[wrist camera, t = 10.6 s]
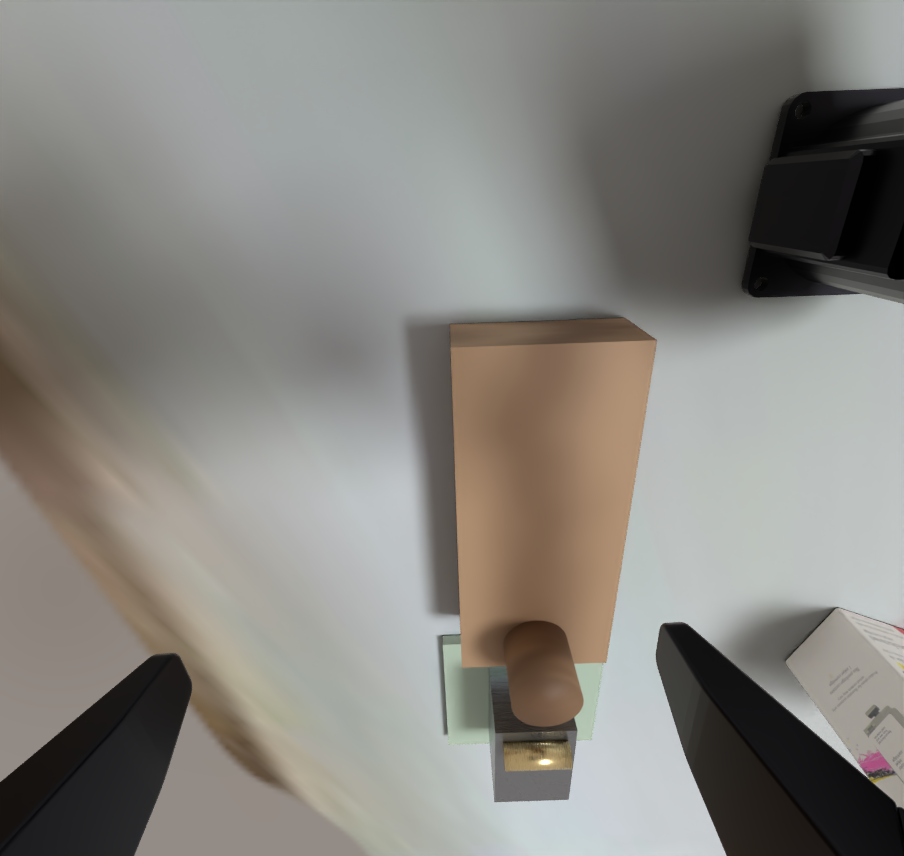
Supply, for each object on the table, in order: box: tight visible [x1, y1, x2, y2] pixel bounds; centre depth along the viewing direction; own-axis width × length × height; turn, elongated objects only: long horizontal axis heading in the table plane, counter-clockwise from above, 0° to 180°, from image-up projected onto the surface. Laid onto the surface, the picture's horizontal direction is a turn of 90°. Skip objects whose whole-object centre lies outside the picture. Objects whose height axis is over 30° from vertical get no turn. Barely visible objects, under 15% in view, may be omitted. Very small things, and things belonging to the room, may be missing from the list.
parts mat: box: [443, 635, 603, 745], centre depth 29 cm, size 9×9×1 cm
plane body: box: [450, 318, 657, 727], centre depth 20 cm, size 7×16×6 cm, turn 2°
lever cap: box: [488, 666, 578, 802], centre depth 26 cm, size 4×6×5 cm, turn 2°
